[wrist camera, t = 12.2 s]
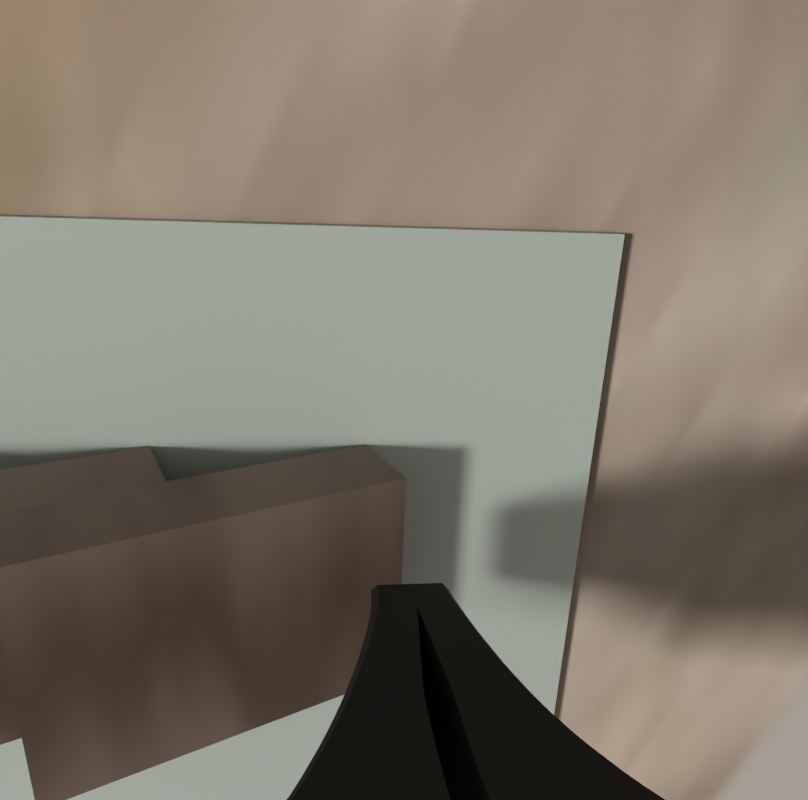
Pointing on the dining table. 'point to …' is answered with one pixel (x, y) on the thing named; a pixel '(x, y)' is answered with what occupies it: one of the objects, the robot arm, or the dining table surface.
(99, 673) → the tile
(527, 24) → the dining table surface
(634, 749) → the dining table surface
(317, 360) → the mat
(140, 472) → the tile
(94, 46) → the dining table surface
